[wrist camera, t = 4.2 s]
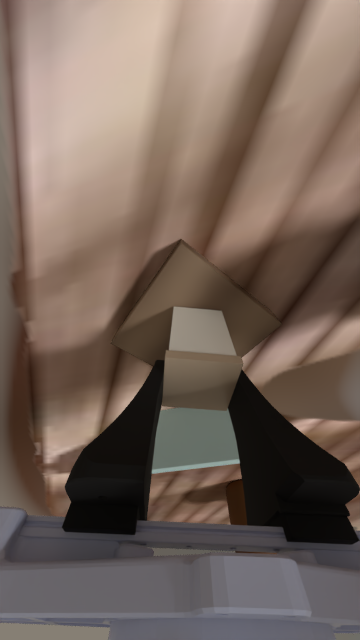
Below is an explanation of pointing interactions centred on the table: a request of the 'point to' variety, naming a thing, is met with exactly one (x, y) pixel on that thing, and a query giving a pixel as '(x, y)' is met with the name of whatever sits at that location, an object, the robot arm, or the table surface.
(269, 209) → the table surface
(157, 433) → the l-shaped corner panel
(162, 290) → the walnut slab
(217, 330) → the beige rectangular block
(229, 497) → the mug
